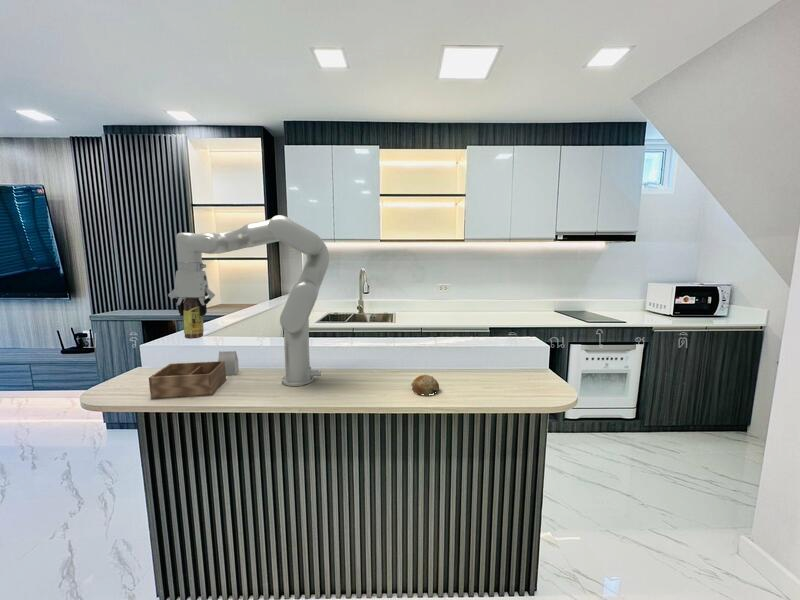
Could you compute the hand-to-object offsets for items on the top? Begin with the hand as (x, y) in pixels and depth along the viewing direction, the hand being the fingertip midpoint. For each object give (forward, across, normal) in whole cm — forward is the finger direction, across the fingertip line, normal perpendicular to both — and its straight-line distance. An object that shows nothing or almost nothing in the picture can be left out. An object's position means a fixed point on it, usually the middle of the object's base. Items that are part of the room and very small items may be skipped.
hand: (193, 314), depth 124 cm
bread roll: (+27, -86, +16) cm, 92 cm away
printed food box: (+29, -7, -13) cm, 32 cm away
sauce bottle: (+9, 0, 0) cm, 9 cm away
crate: (+29, +2, +1) cm, 29 cm away
